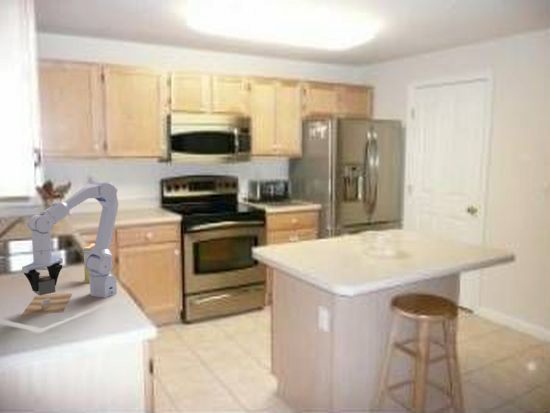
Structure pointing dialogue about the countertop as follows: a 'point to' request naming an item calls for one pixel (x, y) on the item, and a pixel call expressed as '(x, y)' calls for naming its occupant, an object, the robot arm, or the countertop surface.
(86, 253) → the candy box
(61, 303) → the parts board
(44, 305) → the speckled beige tile
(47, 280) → the knob
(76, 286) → the countertop surface
